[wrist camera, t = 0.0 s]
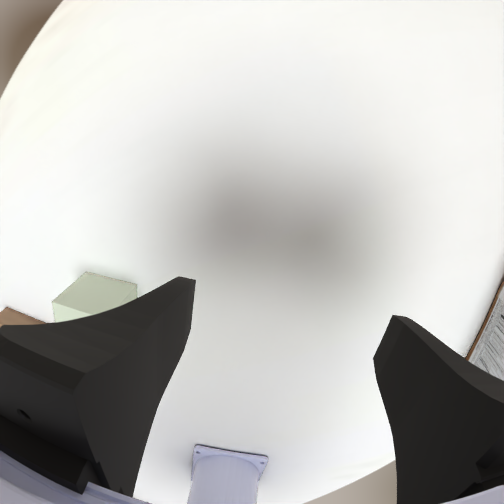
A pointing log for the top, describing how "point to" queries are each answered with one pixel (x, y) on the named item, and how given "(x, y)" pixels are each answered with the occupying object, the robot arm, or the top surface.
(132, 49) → the top surface
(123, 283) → the sage block
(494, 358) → the tin
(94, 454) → the robot arm
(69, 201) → the top surface
